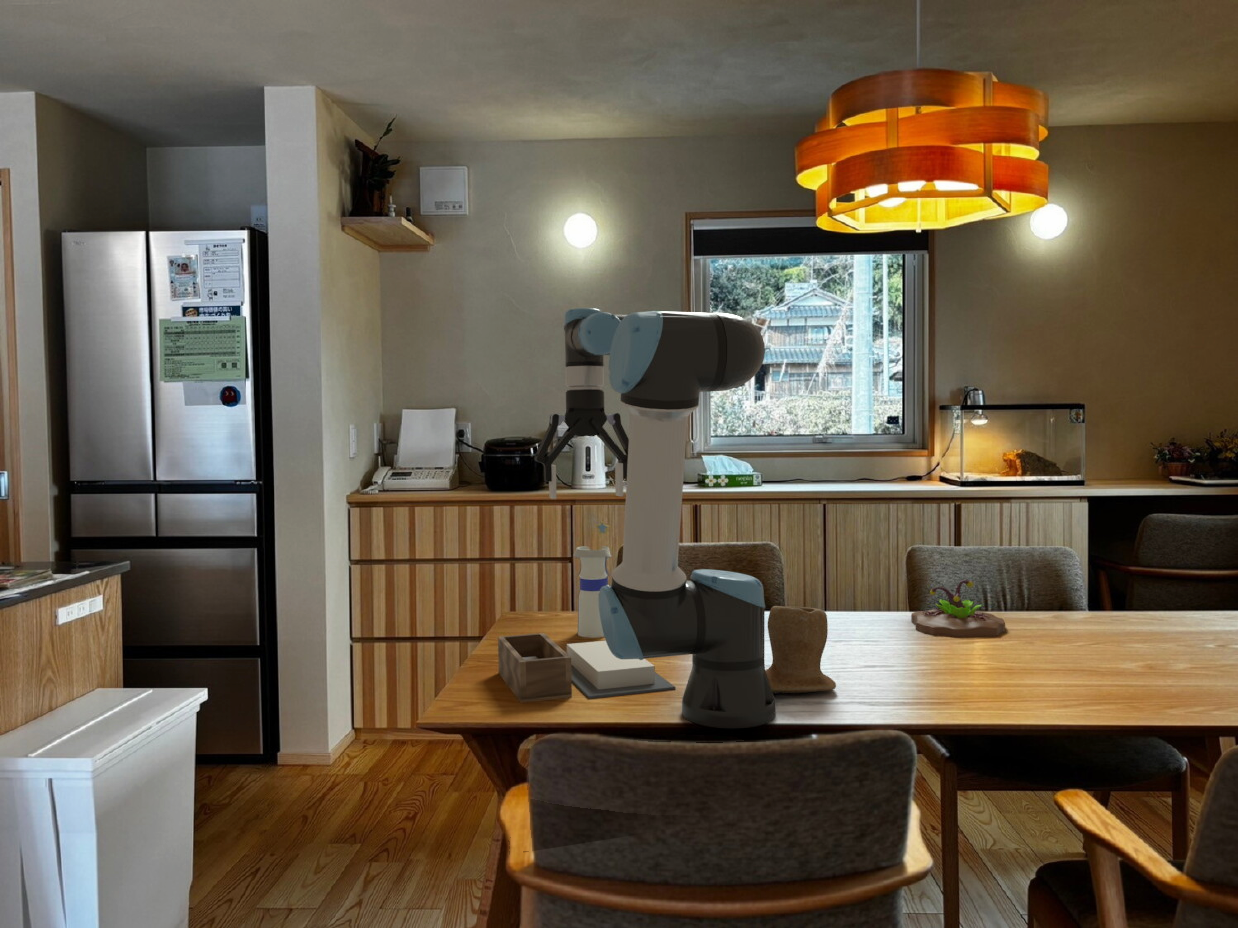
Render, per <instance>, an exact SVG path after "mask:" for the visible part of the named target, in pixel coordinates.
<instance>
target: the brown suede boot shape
mask: <svg viewBox="0 0 1238 928" xmlns="http://www.w3.org/2000/svg"><path fill="white" fill-rule="evenodd" d="M826 613H827V612H825V611H824V610H823V609H820V608H815V607H807V606H804V607H803V606H790V605H789V606H782V605H781V606H779V605H773V606H772V607H771V608H770V610H769V614H768V617H767V619H768V620H767V630H768V638H769V644H770V648H771V655H772V662H771V665H770V666H769V667H768V668H766V669H765V671H766V674H767V677H768V680H769V683H770V686H771V689H772V692H773V694H799V693H802V694H803V693H815V692H828V691H834V690H835V689H836V688H837V684H836V682H835V681H834V680H833V678H831V677H829V676H828V675H826V674H824V673H823V672H822V669H821V662H822V657H823V653H824V650H825V647H826V644H827V639H828V632H829V631H828V628H829V627H828V615H827V614H826Z"/></svg>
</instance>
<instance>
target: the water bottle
mask: <svg viewBox="0 0 1238 928" xmlns="http://www.w3.org/2000/svg"><path fill="white" fill-rule="evenodd" d="M595 527H596V528H597V529H598V531H599V532H598V535H601V534H604V535H605V536H607V535H608V532H607V529H609V528H610V525H606V524H605V523H604V521H603V520H602V521H601V522H600V524H597V525H595ZM572 557H574V558H577V559H579V561H580V562H579V563H580V570H579V573H578V574H577V576H578V577H579V592H578V595H577V596H578V597H577V601H578V602H577V604H578V605H577V610H578V613H577V615H578V616H577V635H578V636H580V637H583V638H593V639H596V638H597V639H598V638H605V637H604V633H603V629H602V625H601V620H600V613H599V600H598V599H599V593H600V589H601V587H603V586H606V585H609V583H608V582H609V576H610V573H609V570H608V568H607V563H608V562H607V561H608V559H610V558H612V555H611V550H610V547H609V546H605V545H604V546H602V547H601V548H600V549H590V547H589V546H584V545H583V546H578V547H576V548H575V551H574V554H573V556H572Z"/></svg>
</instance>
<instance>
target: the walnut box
mask: <svg viewBox="0 0 1238 928" xmlns="http://www.w3.org/2000/svg"><path fill="white" fill-rule="evenodd" d="M497 658H498V659H497V660H498V661H497V662H498V663H497V664H498V674H499V676H500V677H501V678H502V680H503V681H504V682H505V684H506V686H508V687H509V689H510V690H511V691H512V693H513V694H514V696H515V697H516V698H517V700H518V701H519V702H520V704H522V703H530V702H539V701H540V702H541V701H550V700H559V699H569V698H573V693H572V692H573V690H572V688H573V687H572V686H573V685H572V684H573V683H572V677H571V657H570V656H569V655H568V654H567V651H565V650H564V649H562V648H561V647H560V646H559V645H558V644H557V643H556V642H555V641H554V640H553V639H551V637H550V636H548V635H547V634H546V633H545V632H541V633H539V632H537V633H526V634H515V635H514V634H513V635H504V636H503V635H502V636H497Z"/></svg>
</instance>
